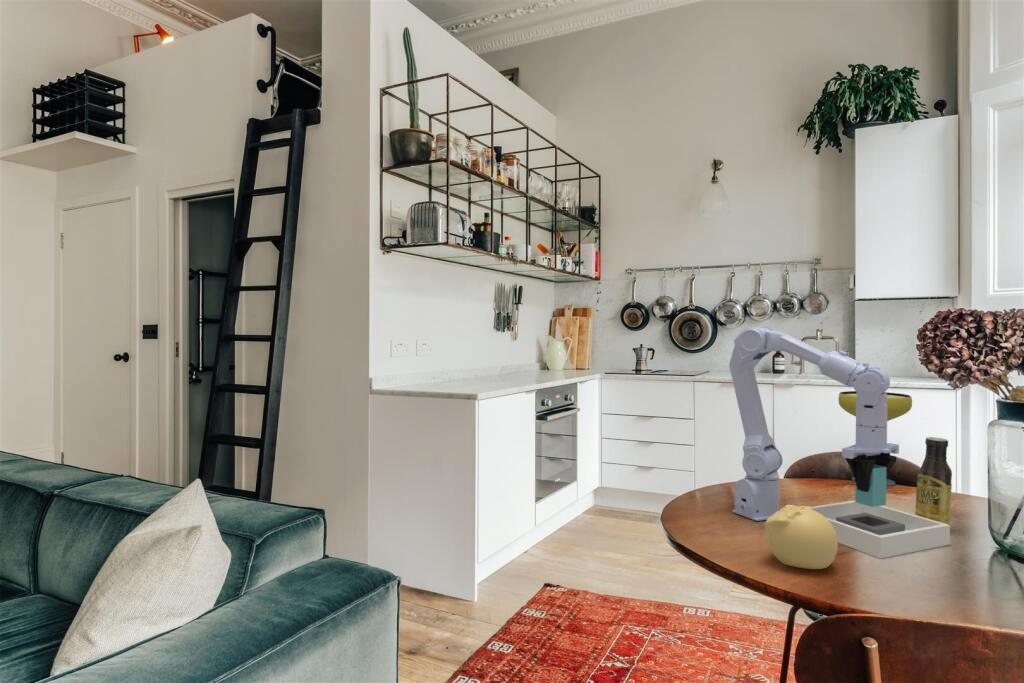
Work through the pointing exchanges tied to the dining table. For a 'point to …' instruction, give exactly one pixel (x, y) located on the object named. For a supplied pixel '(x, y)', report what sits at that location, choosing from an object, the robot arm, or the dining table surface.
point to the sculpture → (801, 537)
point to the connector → (874, 489)
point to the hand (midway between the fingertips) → (870, 489)
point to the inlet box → (883, 529)
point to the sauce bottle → (934, 483)
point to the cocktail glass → (895, 408)
